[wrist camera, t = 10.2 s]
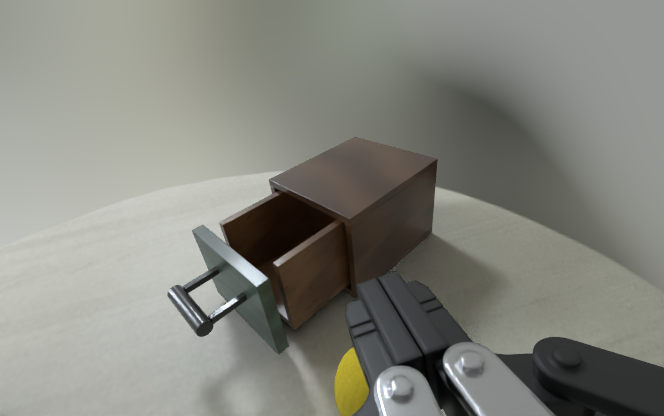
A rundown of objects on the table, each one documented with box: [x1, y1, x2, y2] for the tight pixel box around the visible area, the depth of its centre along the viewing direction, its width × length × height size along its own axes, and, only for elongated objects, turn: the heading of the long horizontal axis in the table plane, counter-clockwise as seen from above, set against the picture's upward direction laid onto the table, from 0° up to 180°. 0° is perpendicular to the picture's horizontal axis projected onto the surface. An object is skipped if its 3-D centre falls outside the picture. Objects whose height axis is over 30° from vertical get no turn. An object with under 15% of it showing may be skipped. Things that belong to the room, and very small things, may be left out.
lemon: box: [334, 347, 369, 416], centre depth 23 cm, size 6×6×8 cm
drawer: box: [168, 190, 351, 355], centre depth 33 cm, size 18×11×9 cm, turn 135°
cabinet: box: [269, 137, 437, 299], centre depth 40 cm, size 15×13×11 cm
